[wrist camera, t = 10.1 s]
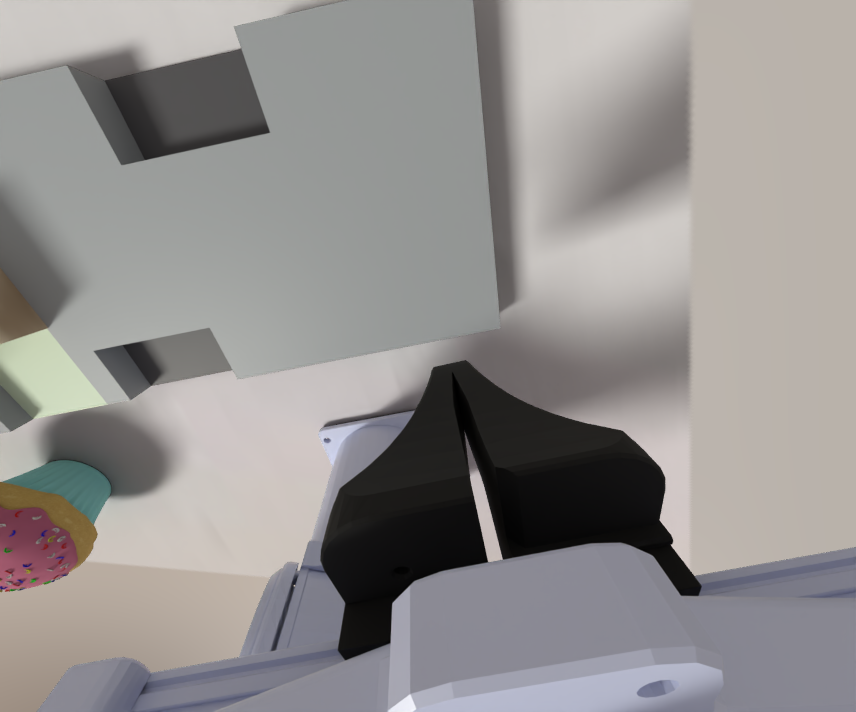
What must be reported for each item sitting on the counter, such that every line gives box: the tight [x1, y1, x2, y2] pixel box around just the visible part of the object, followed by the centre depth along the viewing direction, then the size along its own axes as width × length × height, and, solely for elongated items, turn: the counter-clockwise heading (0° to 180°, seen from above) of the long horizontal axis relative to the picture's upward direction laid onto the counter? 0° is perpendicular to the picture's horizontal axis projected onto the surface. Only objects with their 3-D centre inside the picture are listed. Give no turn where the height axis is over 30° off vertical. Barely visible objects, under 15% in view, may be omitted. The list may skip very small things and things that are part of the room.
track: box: [0, 0, 501, 434], centre depth 16 cm, size 15×31×3 cm, turn 100°
